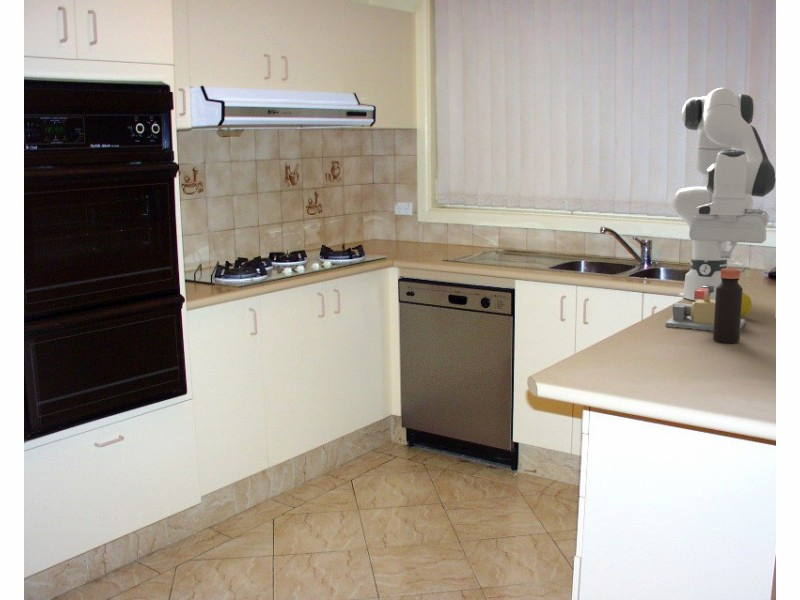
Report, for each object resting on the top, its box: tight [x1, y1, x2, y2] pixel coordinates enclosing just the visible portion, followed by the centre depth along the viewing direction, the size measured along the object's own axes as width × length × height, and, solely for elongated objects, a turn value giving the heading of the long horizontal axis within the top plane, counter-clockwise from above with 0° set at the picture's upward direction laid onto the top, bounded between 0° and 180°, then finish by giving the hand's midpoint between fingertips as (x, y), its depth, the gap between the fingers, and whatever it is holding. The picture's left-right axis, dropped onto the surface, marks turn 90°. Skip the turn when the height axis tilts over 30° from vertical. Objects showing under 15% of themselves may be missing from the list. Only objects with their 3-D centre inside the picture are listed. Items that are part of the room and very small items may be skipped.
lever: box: [694, 285, 714, 300], centre depth 246 cm, size 4×14×2 cm, turn 150°
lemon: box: [741, 292, 753, 319], centre depth 261 cm, size 6×6×8 cm
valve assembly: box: [665, 293, 746, 332], centre depth 251 cm, size 20×16×10 cm
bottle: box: [712, 267, 743, 344], centre depth 230 cm, size 7×7×20 cm
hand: (725, 257), depth 237 cm, fingers closed
